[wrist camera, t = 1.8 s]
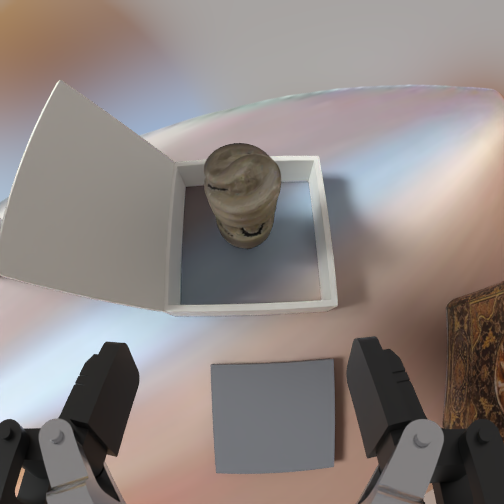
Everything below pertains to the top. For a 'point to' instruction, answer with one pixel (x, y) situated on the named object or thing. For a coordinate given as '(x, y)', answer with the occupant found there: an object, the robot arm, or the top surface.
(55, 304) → the top surface
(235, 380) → the mat
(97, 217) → the box
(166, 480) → the top surface
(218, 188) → the twisted stone column
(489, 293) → the book
